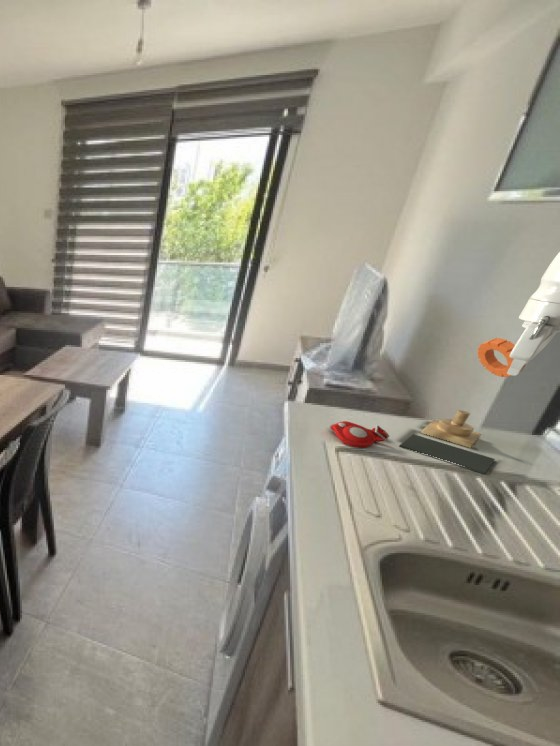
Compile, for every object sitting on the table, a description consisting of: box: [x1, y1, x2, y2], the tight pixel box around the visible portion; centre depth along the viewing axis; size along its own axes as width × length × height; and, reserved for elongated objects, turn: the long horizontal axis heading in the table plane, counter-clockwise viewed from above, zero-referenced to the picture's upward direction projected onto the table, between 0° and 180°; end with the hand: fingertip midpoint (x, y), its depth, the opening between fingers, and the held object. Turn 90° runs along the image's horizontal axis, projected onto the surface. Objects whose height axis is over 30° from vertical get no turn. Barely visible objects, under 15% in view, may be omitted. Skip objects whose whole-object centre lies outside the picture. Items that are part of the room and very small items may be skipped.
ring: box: [476, 337, 526, 378], centre depth 117 cm, size 10×10×2 cm
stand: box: [421, 409, 482, 449], centre depth 127 cm, size 10×10×7 cm
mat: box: [398, 433, 496, 475], centre depth 119 cm, size 16×12×1 cm
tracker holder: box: [330, 420, 391, 449], centre depth 123 cm, size 12×4×10 cm
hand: (514, 372), depth 116 cm, fingers closed on ring, 5 cm apart
